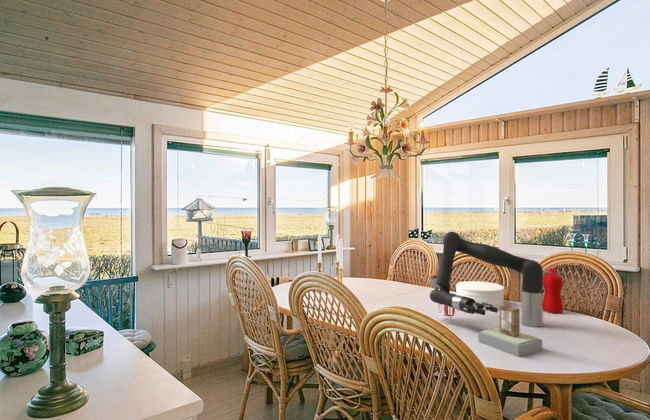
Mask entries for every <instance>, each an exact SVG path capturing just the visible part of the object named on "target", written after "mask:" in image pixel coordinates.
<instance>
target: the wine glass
mask: <svg viewBox="0 0 650 420" xmlns="http://www.w3.org/2000/svg"><path fill="white" fill-rule="evenodd" d="M436 279H437V275H430V279H429V280H430V284H431V286H432V288H433V290H435V289H438V290H440V286H439V285H437V284H436Z"/></svg>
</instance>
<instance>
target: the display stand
mask: <svg viewBox="0 0 650 420" xmlns="http://www.w3.org/2000/svg"><path fill="white" fill-rule="evenodd" d="M478 343H481V344H483V345H486V346H489V347H491V348H495V349H497V350H500V351H501V352H505V353H507V354H510V355H512V356H515V357H522V356H526V355H529V354H532V353H536V352H540V351H542V350H543V339H542V338H539V337H537V336H534V335H530V334H527V333H525V332H522V331H521V332H520V334H519V336H517V337H511V336H508V335H505V334H502V333H500V326H497V327H494V328H489V329H485V330H482V331H481V330H480V331H478Z"/></svg>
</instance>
